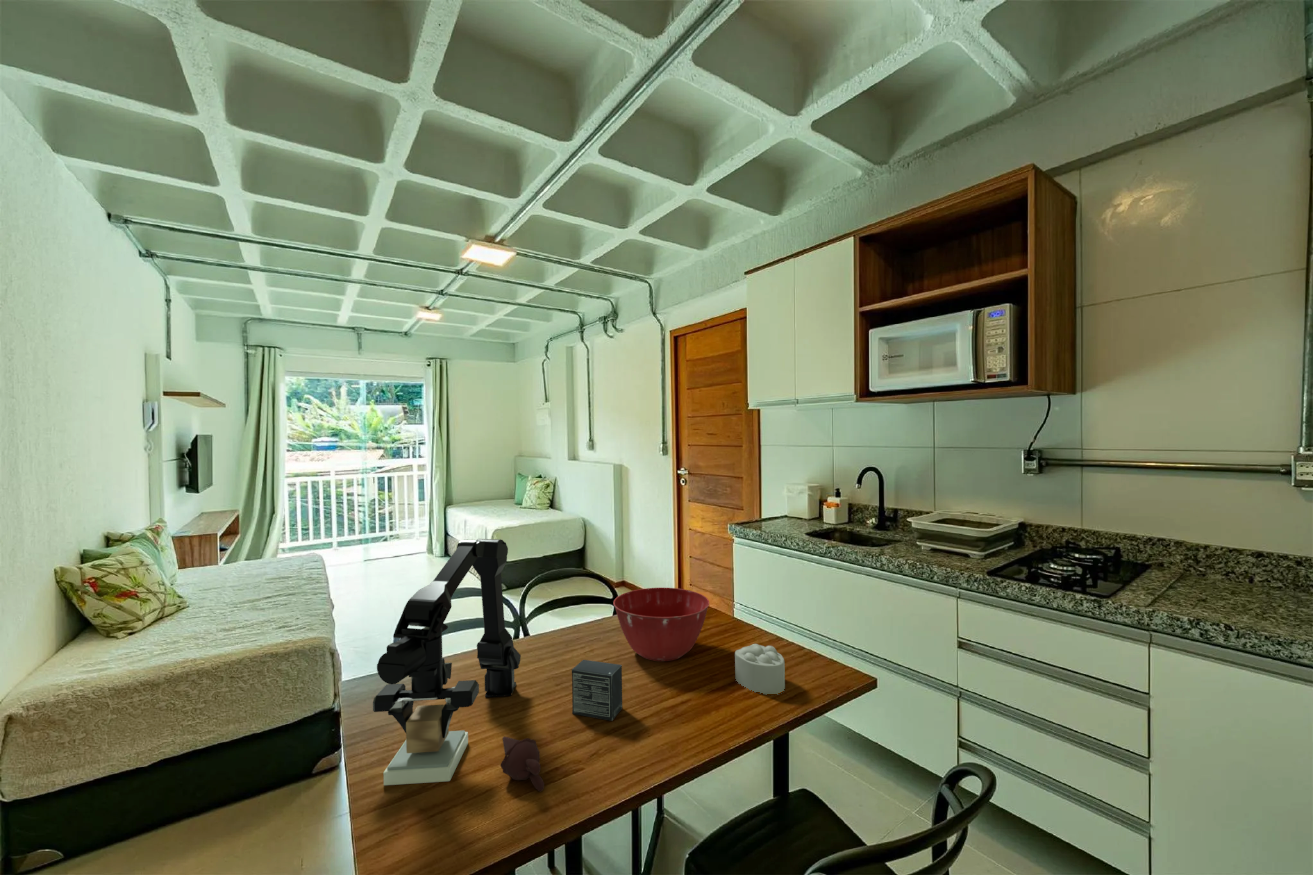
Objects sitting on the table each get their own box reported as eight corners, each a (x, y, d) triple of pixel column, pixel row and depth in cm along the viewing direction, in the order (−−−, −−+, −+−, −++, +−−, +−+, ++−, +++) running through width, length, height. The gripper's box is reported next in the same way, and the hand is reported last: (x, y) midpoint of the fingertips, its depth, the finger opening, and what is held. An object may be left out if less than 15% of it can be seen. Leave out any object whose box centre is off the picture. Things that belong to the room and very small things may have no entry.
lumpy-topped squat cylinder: (758, 668, 141) (757, 637, 141) (795, 687, 131) (794, 653, 131) (730, 679, 136) (729, 646, 136) (766, 699, 125) (765, 664, 125)
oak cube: (448, 733, 105) (448, 704, 105) (438, 751, 100) (438, 720, 99) (418, 734, 105) (417, 705, 105) (406, 753, 99) (406, 722, 99)
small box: (623, 707, 122) (623, 663, 122) (612, 722, 116) (612, 675, 116) (584, 700, 126) (583, 657, 126) (571, 714, 119) (570, 669, 119)
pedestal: (468, 742, 109) (467, 728, 109) (449, 781, 97) (449, 765, 97) (409, 746, 108) (409, 732, 108) (383, 785, 96) (383, 769, 96)
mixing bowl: (651, 626, 173) (651, 581, 173) (727, 646, 156) (726, 595, 156) (594, 657, 150) (593, 604, 150) (675, 683, 133) (674, 624, 133)
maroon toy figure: (482, 734, 101) (517, 779, 90) (516, 712, 105) (553, 751, 94) (490, 763, 102) (525, 810, 91) (523, 739, 107) (561, 782, 96)
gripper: (485, 641, 111) (486, 713, 111) (395, 645, 109) (396, 718, 110) (470, 664, 100) (471, 744, 100) (370, 669, 98) (372, 750, 98)
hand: (428, 737), depth 102 cm, fingers closed on oak cube, 6 cm apart
